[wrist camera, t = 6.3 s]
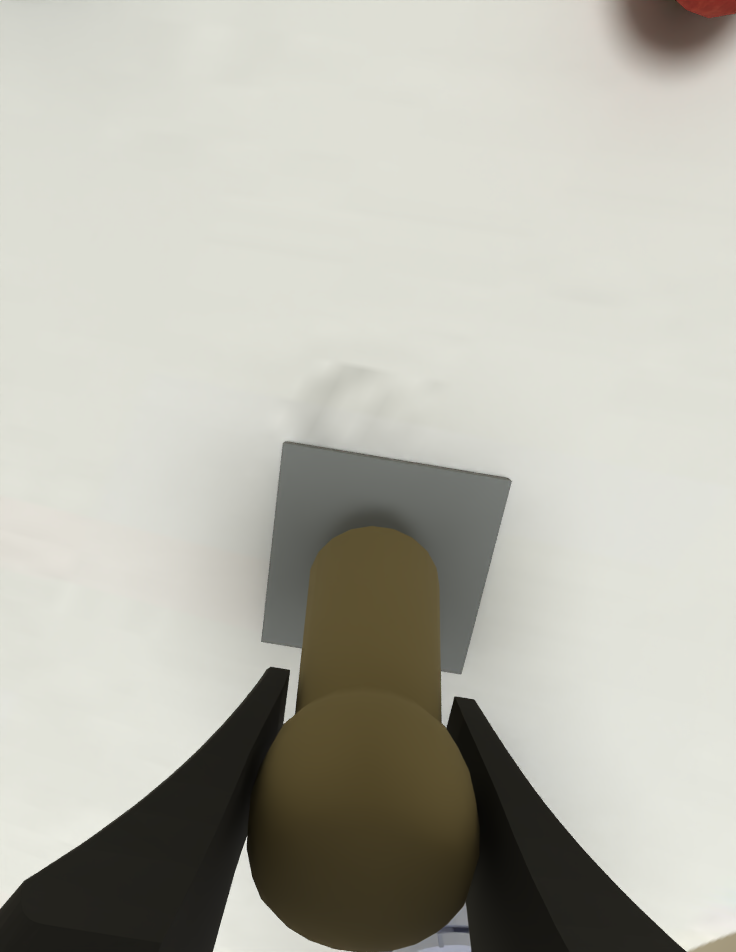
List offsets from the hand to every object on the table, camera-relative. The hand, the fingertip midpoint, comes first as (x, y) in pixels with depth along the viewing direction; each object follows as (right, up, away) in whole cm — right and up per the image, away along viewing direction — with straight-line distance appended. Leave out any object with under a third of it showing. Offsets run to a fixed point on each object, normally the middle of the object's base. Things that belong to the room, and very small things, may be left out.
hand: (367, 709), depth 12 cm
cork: (0, +2, +6) cm, 7 cm away
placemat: (+1, +2, +10) cm, 10 cm away
